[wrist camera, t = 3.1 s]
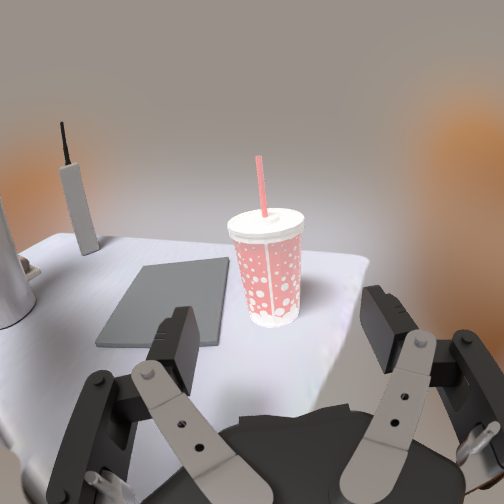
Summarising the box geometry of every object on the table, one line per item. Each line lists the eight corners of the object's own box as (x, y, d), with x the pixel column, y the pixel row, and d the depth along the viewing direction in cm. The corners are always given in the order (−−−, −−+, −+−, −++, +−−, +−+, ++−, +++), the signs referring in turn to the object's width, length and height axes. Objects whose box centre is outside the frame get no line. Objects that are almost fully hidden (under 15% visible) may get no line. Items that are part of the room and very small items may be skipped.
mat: (96, 346, 23) (94, 342, 23) (144, 269, 38) (143, 266, 38) (217, 345, 23) (216, 340, 23) (228, 260, 37) (228, 257, 37)
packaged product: (-20, 262, 40) (12, 243, 48) (-13, 282, 42) (19, 262, 50) (-9, 275, 32) (33, 251, 40) (2, 300, 34) (42, 275, 42)
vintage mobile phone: (97, 243, 51) (70, 121, 41) (100, 249, 48) (71, 117, 37) (80, 249, 50) (52, 126, 39) (82, 256, 46) (51, 122, 35)
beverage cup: (305, 292, 29) (297, 149, 23) (309, 331, 23) (302, 157, 17) (245, 295, 30) (225, 156, 24) (237, 334, 24) (208, 166, 18)
